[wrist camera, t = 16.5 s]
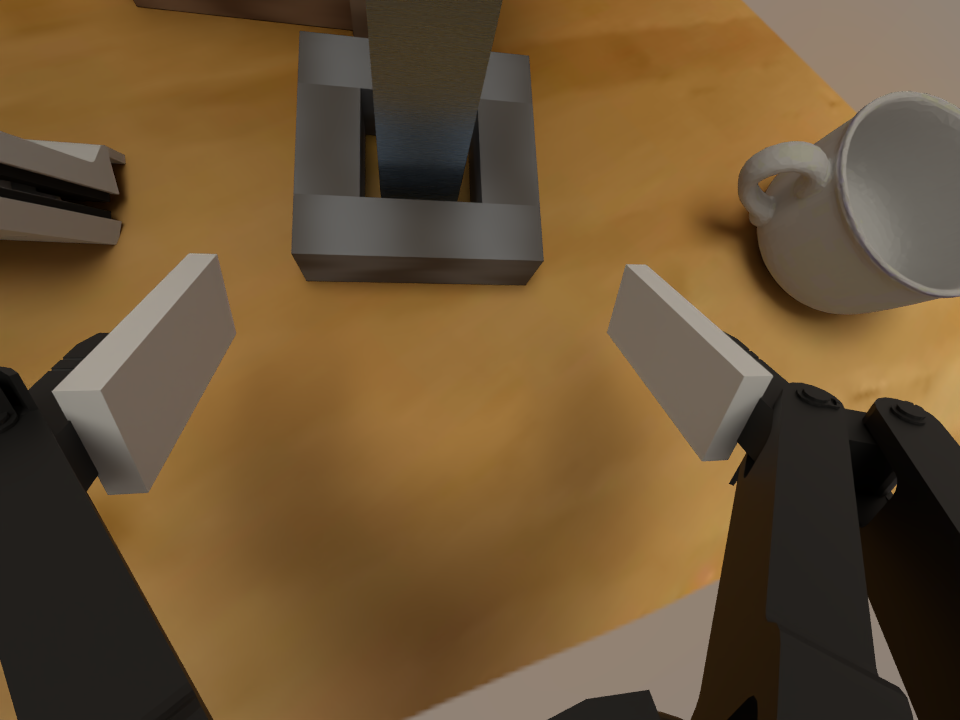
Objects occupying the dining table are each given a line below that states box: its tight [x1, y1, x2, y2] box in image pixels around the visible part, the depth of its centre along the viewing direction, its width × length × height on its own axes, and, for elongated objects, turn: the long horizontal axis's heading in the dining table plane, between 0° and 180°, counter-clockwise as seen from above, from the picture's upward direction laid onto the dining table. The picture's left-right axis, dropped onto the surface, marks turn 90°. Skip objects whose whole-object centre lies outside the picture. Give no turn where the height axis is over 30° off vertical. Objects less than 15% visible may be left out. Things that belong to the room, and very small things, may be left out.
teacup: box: [738, 91, 960, 314], centre depth 26 cm, size 14×11×8 cm
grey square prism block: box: [366, 0, 502, 202], centre depth 20 cm, size 4×4×14 cm
